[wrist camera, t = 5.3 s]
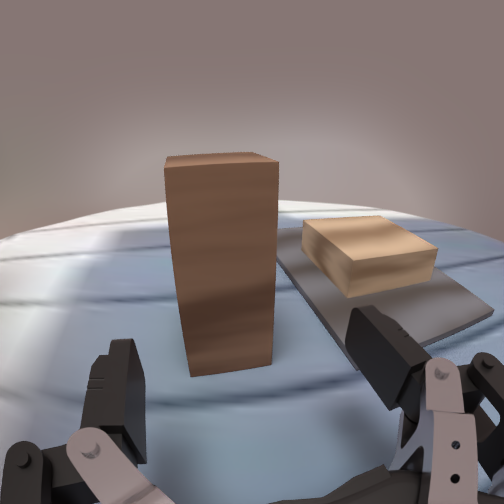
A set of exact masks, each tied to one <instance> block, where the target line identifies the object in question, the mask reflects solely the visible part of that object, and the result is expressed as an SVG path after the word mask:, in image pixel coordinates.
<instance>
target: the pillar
mask: <svg viewBox="0 0 504 504" xmlns="http://www.w3.org/2000/svg"><path fill="white" fill-rule="evenodd" d="M164 176H165V190H166V203H167V215H168V226H169V236H170V245H171V254H172V262H173V270H174V278H175V286H176V293H177V300H178V307H179V313H180V320H181V326H182V332H183V338H184V344H185V349H186V355H187V360H188V365H189V371H190V376H191V377H196V376H204V375H212V374H219V373H226V372H232V371H239V370H245V369H251V368H257V367H262V366H268V365H271V362H272V344H273V325H274V304H275V281H276V256H277V226H278V187H279V186H278V185H279V162H278V161H275V160H272V159H270V158H267V157H264V156H261V155H259V154H256V153H253V152H235V153H212V154H197V155H196V154H195V155H183V156H171V157H167V159H166V163H165V166H164Z"/></svg>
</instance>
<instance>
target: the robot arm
mask: <svg viewBox="0 0 504 504" xmlns="http://www.w3.org/2000/svg"><path fill="white" fill-rule="evenodd" d="M345 347H346V350H347V352H348V354H349V355H350V357H351V358H352V360H353V361H354V362H355V364H356V365H357V367H358V368H359V369H360V371H361V372H362V373H363V375H364V376H365V378H366V379H367V380H368V382H369V383H370V385H371V386H372V387H373V389H374V390H375V392H376V393H377V394H378V396H379V397H380V399H381V400H382V401H383V403H384V404H385V406H386V407H387V409H388V410H389V411H391V410H393V409H395V408H397V407H401V408H402V412H401V414H400V420H399V429H398V438H397V445H396V452H395V456H394V459H393V461H392V463H391V465H390V468H389V471H388V470H387V469H386V467H385V466H384V464H383V465H381V466H379V467H376V468H374V469H372V470H370V471H367V472H365V473H363V474H360V475H358V476H355V477H353V478H352V479H350V480H349V481H348V482H346V483H345V484H343V485H342V486H340V487H339V488H337V489H336V490H334V491H333V492H331V493H329V494H328V495H326V496H324V497H321V498H311V499H298V500H282V501H278V502H273V503H269V504H504V365H503V364H502V363H501V362H500V361H499V360H498V359H497V358H496V357H494V356H493V355H491V354H489V353H485V352H481V353H477V354H476V355H475V356H474V358H473V359H472V361H471V363H470V364H468V365H461V366H456V365H455V364H454V363H453V362H451V361H450V360H448V359H445V358H432V357H431V356H430V355H429V354H428V353H427V352H426V351H425V350H424V349H423V348H422V347H421V346H420V345H419V344H418V343H417V342H416V341H415V340H414V339H413V338H412V337H411V336H409V334H408V333H407V332H406V331H405V330H403V327H402V326H401V325H400V324H399V323H398V322H397V321H396V320H394V319H392V318H390V317H389V316H387V315H385V314H382V313H381V312H380V311H379V310H378V309H377V308H376V307H375V306H374V305H372V304H369V305H364V306H360V307H355V308H353V309H352V311H351V314H350V319H349V323H348V328H347V332H346V337H345ZM87 389H88V390H87V391H86V396H85V402H84V408H83V414H82V420H81V426H80V429H79V430H78V431H76V432H75V433H73V434H72V435H71V437H70V438H69V440H68V442H67V444H65V445H62V446H58V447H53V448H49V449H44V450H40V449H39V448H38V447H37V446H36V445H35V444H33V443H31V442H28V441H21V442H18V443H15V444H14V445H12V446H11V447H10V448H9V450H8V452H7V454H6V457H5V464H4V470H3V478H2V487H1V497H0V504H94V503H98V502H101V503H102V504H175V503H174V502H173V501H172V500H171V499H170V498H169V497H167V496H166V495H165V494H164V493H163V492H162V491H161V490H160V489H159V488H158V487H156V486H155V485H153V484H152V483H151V482H150V481H149V480H148V479H147V478H146V477H145V476H144V475H143V474H142V473H141V472H140V471H139V470H138V466H137V464H147V456H146V426H145V377H144V372H143V368H142V365H141V362H140V359H139V355H138V352H137V349H136V345H135V342H134V340H133V339H117V340H112V341H111V344H110V349H109V354H108V355H99V357H98V358H97V359H96V361H95V362H94V363H93V365H92V366H91V371H90V376H89V381H88V386H87ZM485 397H486V398H487V399H488V400H489V401H490V403H491V404H492V405H493V406H494V407H495V409H496V410H497V411H498V413H499V414H500V422H499V424H498V426H495V424H494V423H493V422H492V420H491V419H490V418H489V417H488V415H487V414H486V413H485V412H484V410H483V409H482V408H481V407H480V403H481V402H482V400H483V399H484V398H485ZM478 462H479V463H480V465H481V466H482V468H483V469H484V471H485V472H486V474H487V475H488V477H489V478H490V480H491V481H492V486H490V487H489V489H488V493H484V492H480V491H477V489H478Z"/></svg>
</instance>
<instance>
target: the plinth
mask: <svg viewBox="0 0 504 504" xmlns="http://www.w3.org/2000/svg"><path fill="white" fill-rule="evenodd" d="M437 251H438V248H437V247H435V246H433V245H432V244H430V243H428V242H426V241H425V240H423V239H421V238H419V237H418V236H416V235H414V234H412V233H411V232H409V231H407V230H405V229H404V228H402V227H400V226H398V225H396V224H394V223H393V222H391V221H389V220H387V219H385V218H383V217H381V216H362V217H344V218H327V219H311V220H303V227H297V228H284V229H277V256H276V261H277V262H278V263H279V265H280V266H281V267H282V269H283V270H284V271H285V273H286V274H287V275H288V277H289V278H290V279H291V281H292V282H293V284H294V285H295V286H296V288H297V289H298V290H299V292H300V293H301V294H302V296H303V297H304V299H305V300H306V301H307V303H308V304H309V305H310V307H311V308H312V309H313V311H314V312H315V314H316V315H317V316H318V318H319V319H320V320H321V322H322V323H323V325H324V326H325V327H326V329H327V330H328V331H329V333H330V334H331V336H332V337H333V338H334V340H335V341H336V342H337V344H338V345H339V347H340V348H341V349H342V351H343V352H344V354H345V355H346V356H347V358H348V359H349V360H350V362H351V363H352V365H353V366H354V367H355V369H356V370H360V369H359V368H358V367H357V365H356V364H355V362H354V361H353V360H352V358H351V357H350V355H349V354H348V352H347V350H346V347H345V337H346V332H347V328H348V323H349V319H350V314H351V311H352V309H353V308H355V307H360V306H364V305H369V304H372V305H374V306H375V307H376V308H377V309H378V310H379V311H380V312H381V313H382V314H385V315H387V316H389V317H390V318H392V319H394V320H396V321H397V322H398V323H399V324H400V325H401V326H402V327H403V330H405V331H406V332H407V333H408V334H409V336H411V337H412V338H413V339H414V340H415V341H416V342H417V343H418V344H419V345H420V346H421V347H424V346H427V345H429V344H432V343H434V342H436V341H439V340H441V339H443V338H446V337H448V336H450V335H452V334H455V333H457V332H459V331H461V330H463V329H465V328H467V327H470V326H472V325H474V324H476V323H478V322H480V321H482V320H484V319H486V318H488V317H490V316H491V315H492V314H493V312H494V309H493V308H492V307H490V306H489V305H488V304H486V303H485V302H484V301H482V300H481V299H480V298H478V297H477V296H476V295H474V294H473V293H471V292H470V291H469V290H467V289H466V288H465V287H463V286H462V285H460V284H459V283H457V282H456V281H455V280H453V279H452V278H450V277H449V276H447V275H446V274H445V273H443V272H442V271H440V270H439V269H437V268H436V267H434V264H435V260H436V255H437Z"/></svg>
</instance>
